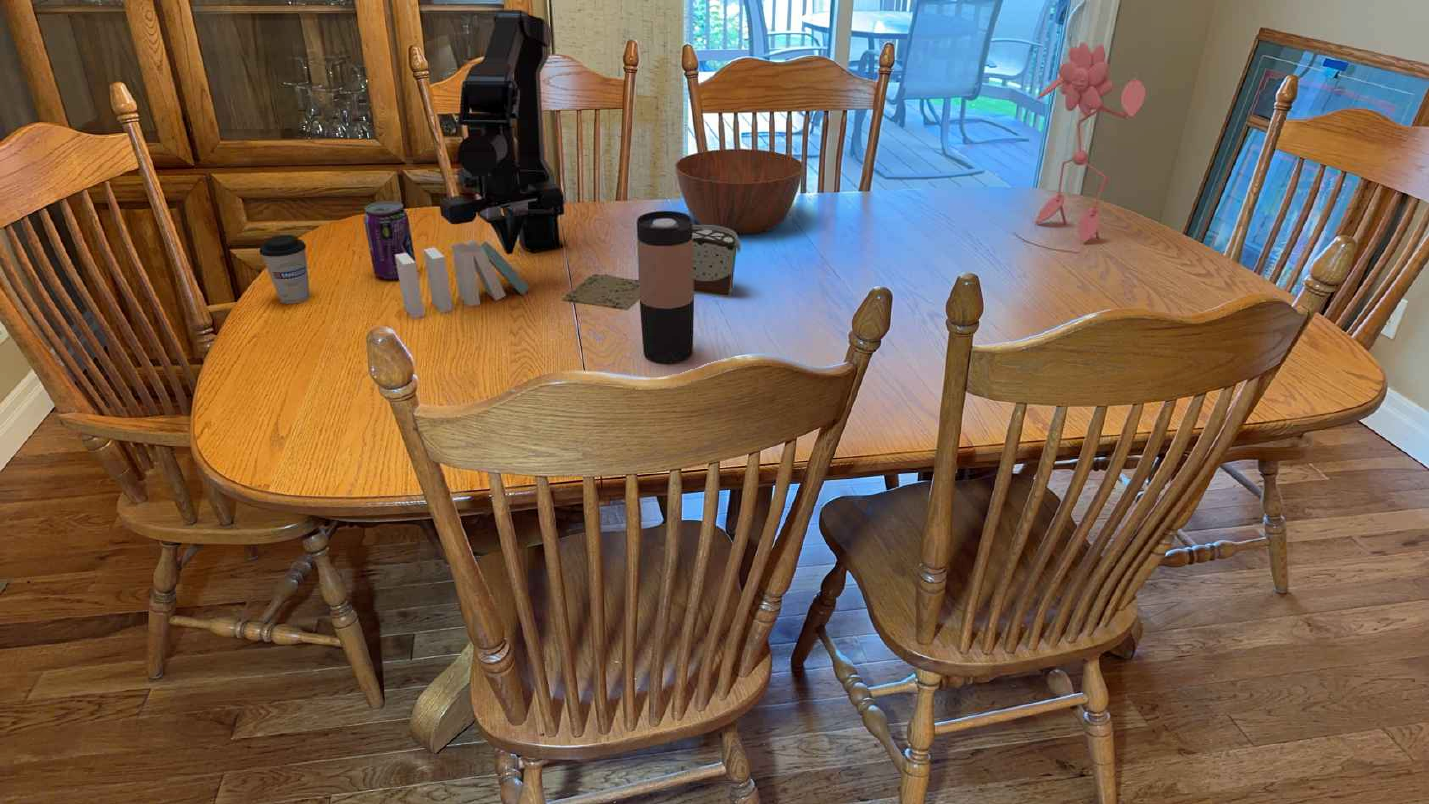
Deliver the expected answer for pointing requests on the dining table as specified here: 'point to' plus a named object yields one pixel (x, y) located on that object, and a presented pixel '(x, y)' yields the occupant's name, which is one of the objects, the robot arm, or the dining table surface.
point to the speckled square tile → (606, 292)
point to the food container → (714, 259)
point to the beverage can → (387, 236)
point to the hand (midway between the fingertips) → (508, 253)
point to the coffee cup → (287, 267)
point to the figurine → (1085, 88)
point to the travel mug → (666, 285)
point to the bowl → (739, 187)
